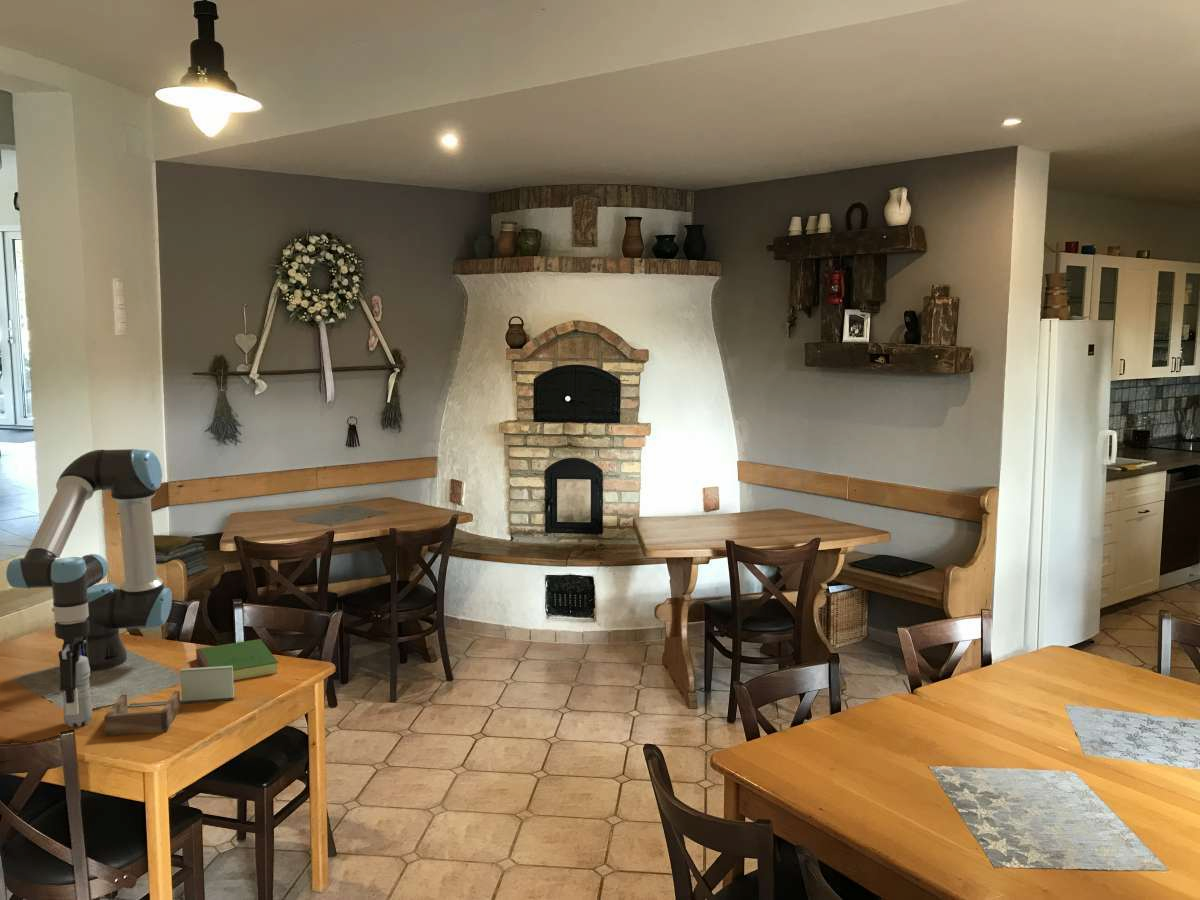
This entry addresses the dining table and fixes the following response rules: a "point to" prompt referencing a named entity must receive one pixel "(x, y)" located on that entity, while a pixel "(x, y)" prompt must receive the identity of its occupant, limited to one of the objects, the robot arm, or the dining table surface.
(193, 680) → the pale grey flat panel
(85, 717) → the bottle
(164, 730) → the cradle
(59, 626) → the robot arm
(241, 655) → the hardcover book
